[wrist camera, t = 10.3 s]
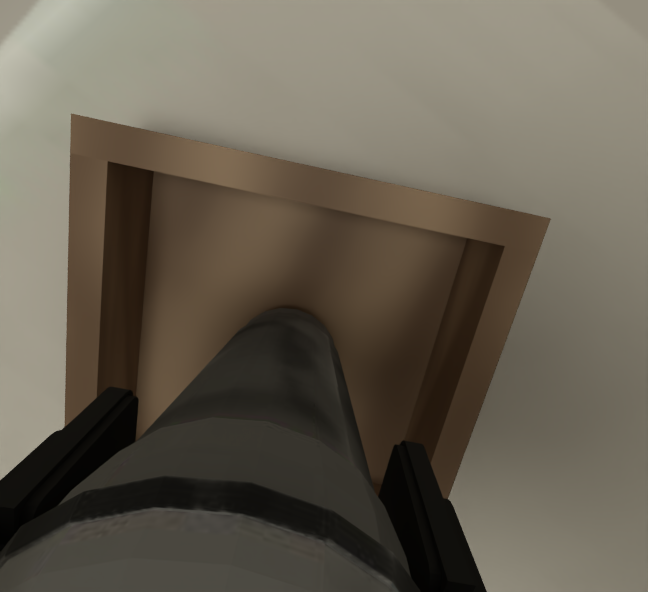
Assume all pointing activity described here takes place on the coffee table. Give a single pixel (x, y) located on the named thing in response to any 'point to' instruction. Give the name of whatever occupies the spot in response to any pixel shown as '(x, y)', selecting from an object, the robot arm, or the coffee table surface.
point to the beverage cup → (228, 487)
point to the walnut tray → (287, 281)
